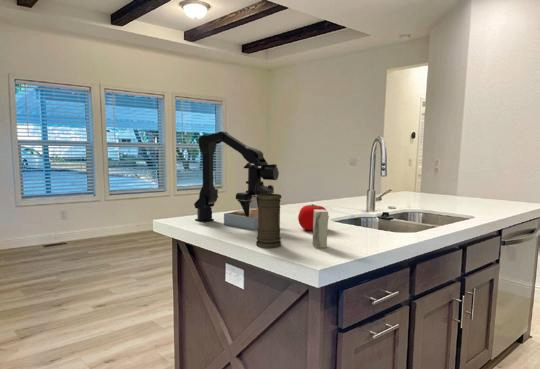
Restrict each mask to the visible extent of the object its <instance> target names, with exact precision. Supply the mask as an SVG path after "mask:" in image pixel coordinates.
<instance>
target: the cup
mask: <svg viewBox="0 0 540 369" xmlns="http://www.w3.org/2000/svg"><path fill="white" fill-rule="evenodd" d="M251 201H252V202H251V203H250V206H249V211H250V209H251V208H258V205H257V199H256V197H252V199H251Z"/></svg>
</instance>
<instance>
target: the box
mask: <svg viewBox="0 0 540 369" xmlns="http://www.w3.org/2000/svg"><path fill="white" fill-rule="evenodd" d="M326 210H327V209H326ZM326 210H318V209H314V218H313V231H312V243H311V244H312V246H313V247H314V248H315V249H326V248H327V246H328V245H327V244H328V228H329V225H328V224H329V218H328V216H329V211H328V210H327V211H326Z"/></svg>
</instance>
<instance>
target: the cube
mask: <svg viewBox="0 0 540 369" xmlns="http://www.w3.org/2000/svg"><path fill="white" fill-rule="evenodd" d="M242 210H243V209H241V210H236V211H233V212H234V215H239V216H245V217H249V215H248V216H246V214H245V212H244V211H242Z"/></svg>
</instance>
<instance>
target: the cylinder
mask: <svg viewBox="0 0 540 369" xmlns="http://www.w3.org/2000/svg"><path fill="white" fill-rule="evenodd" d="M250 217H252V218H256V217H258V208H251V209H250Z"/></svg>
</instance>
